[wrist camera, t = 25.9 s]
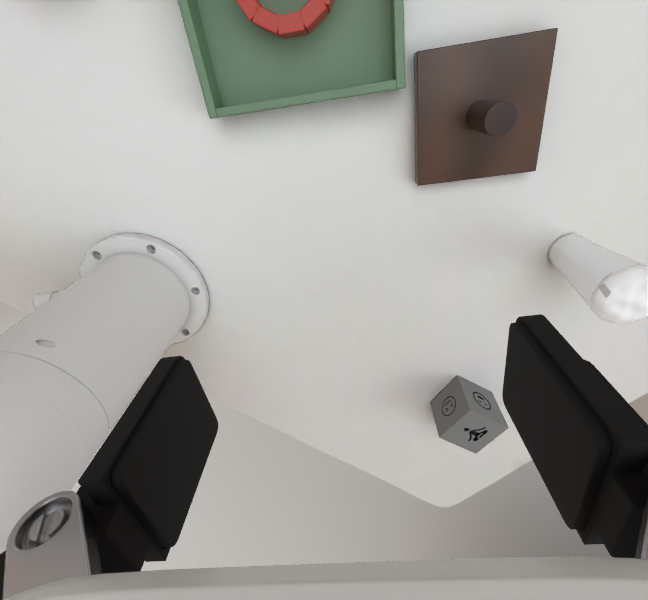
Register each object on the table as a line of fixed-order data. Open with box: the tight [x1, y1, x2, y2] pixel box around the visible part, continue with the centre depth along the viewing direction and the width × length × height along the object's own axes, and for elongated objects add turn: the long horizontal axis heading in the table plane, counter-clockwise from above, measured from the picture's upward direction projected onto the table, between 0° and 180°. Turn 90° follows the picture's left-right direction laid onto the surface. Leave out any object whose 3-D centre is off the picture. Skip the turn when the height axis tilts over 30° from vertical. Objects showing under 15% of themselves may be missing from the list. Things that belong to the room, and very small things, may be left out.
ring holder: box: [414, 28, 558, 186], centre depth 25 cm, size 9×9×5 cm
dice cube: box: [430, 376, 508, 453], centre depth 40 cm, size 5×5×5 cm
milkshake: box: [548, 234, 648, 324], centre depth 28 cm, size 4×5×10 cm
